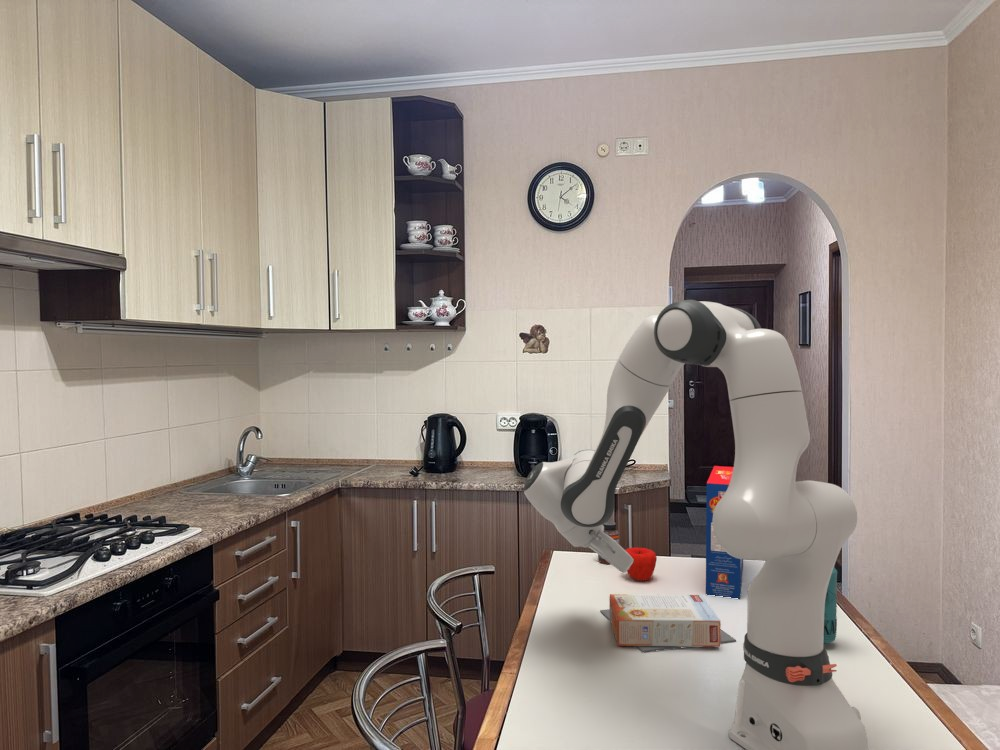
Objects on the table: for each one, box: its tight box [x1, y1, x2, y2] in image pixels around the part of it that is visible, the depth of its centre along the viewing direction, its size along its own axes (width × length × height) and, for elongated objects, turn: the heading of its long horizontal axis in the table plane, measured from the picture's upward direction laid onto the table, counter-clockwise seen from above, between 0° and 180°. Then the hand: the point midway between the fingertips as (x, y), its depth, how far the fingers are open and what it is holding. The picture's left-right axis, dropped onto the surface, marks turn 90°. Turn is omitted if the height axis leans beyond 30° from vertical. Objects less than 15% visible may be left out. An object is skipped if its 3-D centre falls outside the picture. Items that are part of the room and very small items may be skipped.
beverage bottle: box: [823, 567, 838, 644], centre depth 136 cm, size 6×7×20 cm
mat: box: [600, 608, 737, 653], centre depth 146 cm, size 22×21×1 cm
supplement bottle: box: [597, 520, 620, 565], centre depth 192 cm, size 6×6×11 cm
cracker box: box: [608, 593, 722, 648], centre depth 141 cm, size 14×6×21 cm
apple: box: [624, 547, 658, 582], centre depth 177 cm, size 9×9×8 cm
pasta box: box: [705, 465, 744, 600], centre depth 176 cm, size 28×8×28 cm, turn 158°
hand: (625, 568), depth 143 cm, fingers closed
